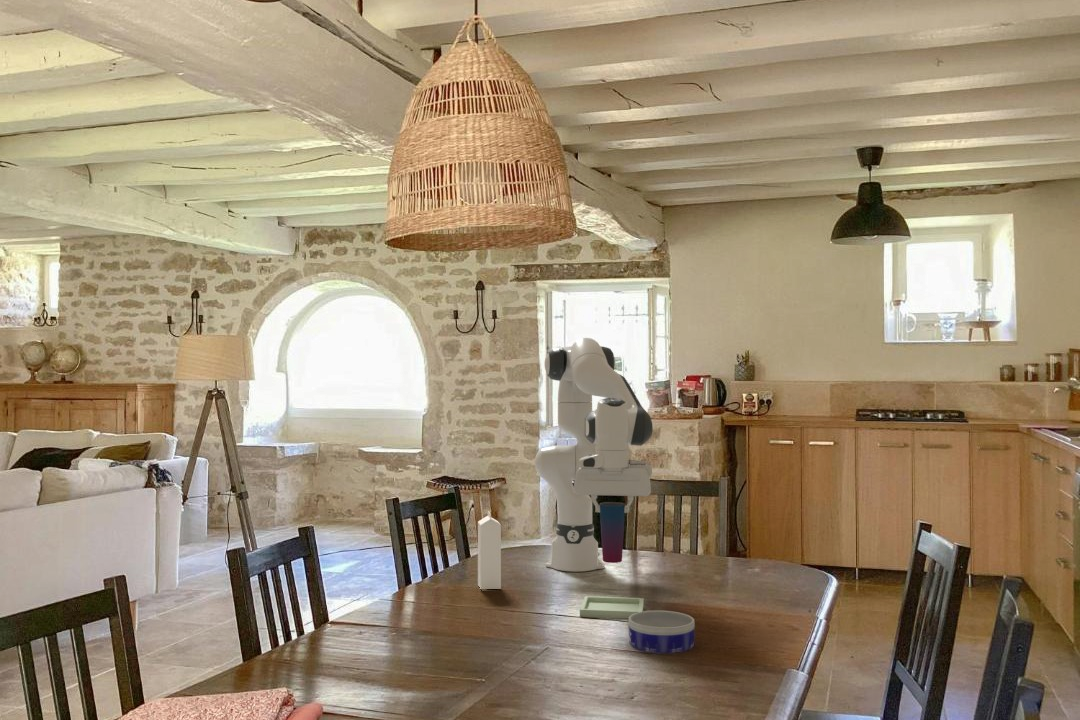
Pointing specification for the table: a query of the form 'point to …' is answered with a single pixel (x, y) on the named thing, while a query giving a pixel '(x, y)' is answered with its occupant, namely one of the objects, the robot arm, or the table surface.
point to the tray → (610, 607)
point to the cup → (612, 530)
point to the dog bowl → (661, 631)
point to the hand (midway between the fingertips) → (612, 512)
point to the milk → (489, 553)
